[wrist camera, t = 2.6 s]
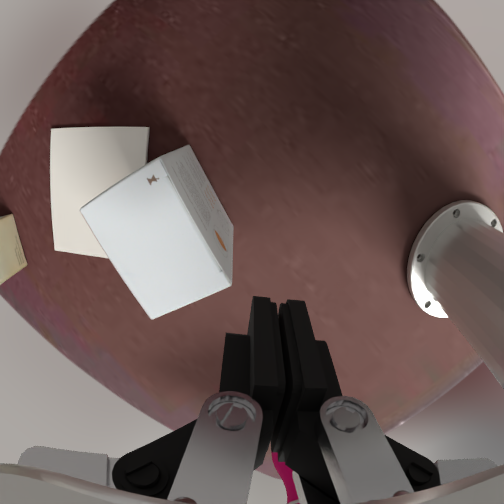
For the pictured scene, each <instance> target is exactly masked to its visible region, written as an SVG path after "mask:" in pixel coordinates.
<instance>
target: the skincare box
mask: <svg viewBox="0 0 504 504" xmlns="http://www.w3.org/2000/svg"><path fill="white" fill-rule="evenodd" d="M25 266H27V262H26V259H25V256H24V252H23V249H22V246H21V242H20V239H19V235H18V232H17V228H16V224H15V220H14V217H13V214H9V215H5V216H2V217H0V285H1V284H2V283H3V282H5V281H6V280H7V279H9V278H10V277H11V276H13V275H14V274H16V273H17V272H18V271H20V270H21V269H22V268H24V267H25Z"/></svg>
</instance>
